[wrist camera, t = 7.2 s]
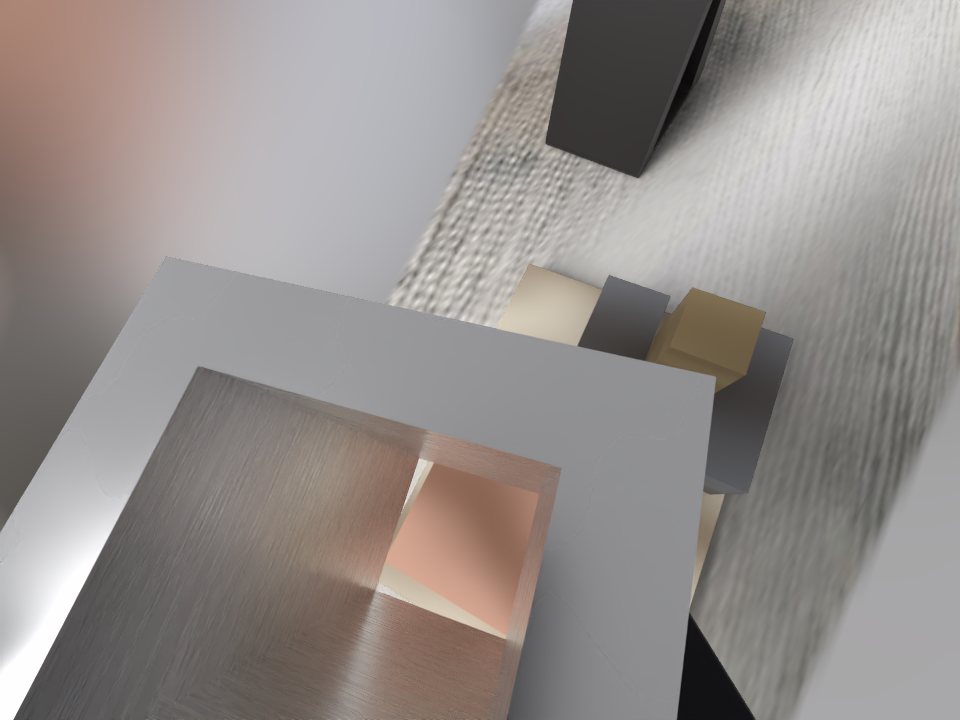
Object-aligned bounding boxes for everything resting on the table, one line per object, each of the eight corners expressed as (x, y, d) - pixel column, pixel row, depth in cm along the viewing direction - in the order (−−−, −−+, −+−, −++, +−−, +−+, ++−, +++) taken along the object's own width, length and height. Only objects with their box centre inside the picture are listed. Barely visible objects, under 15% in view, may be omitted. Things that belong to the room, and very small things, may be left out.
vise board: (635, 727, 15) (748, 973, 7) (381, 570, 18) (264, 624, 10) (752, 360, 19) (910, 260, 11) (529, 278, 22) (529, 152, 14)
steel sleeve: (537, 704, 9) (571, 1643, 2) (325, 620, 10) (-246, 941, 3) (585, 466, 11) (716, 376, 3) (398, 414, 12) (165, 256, 4)
